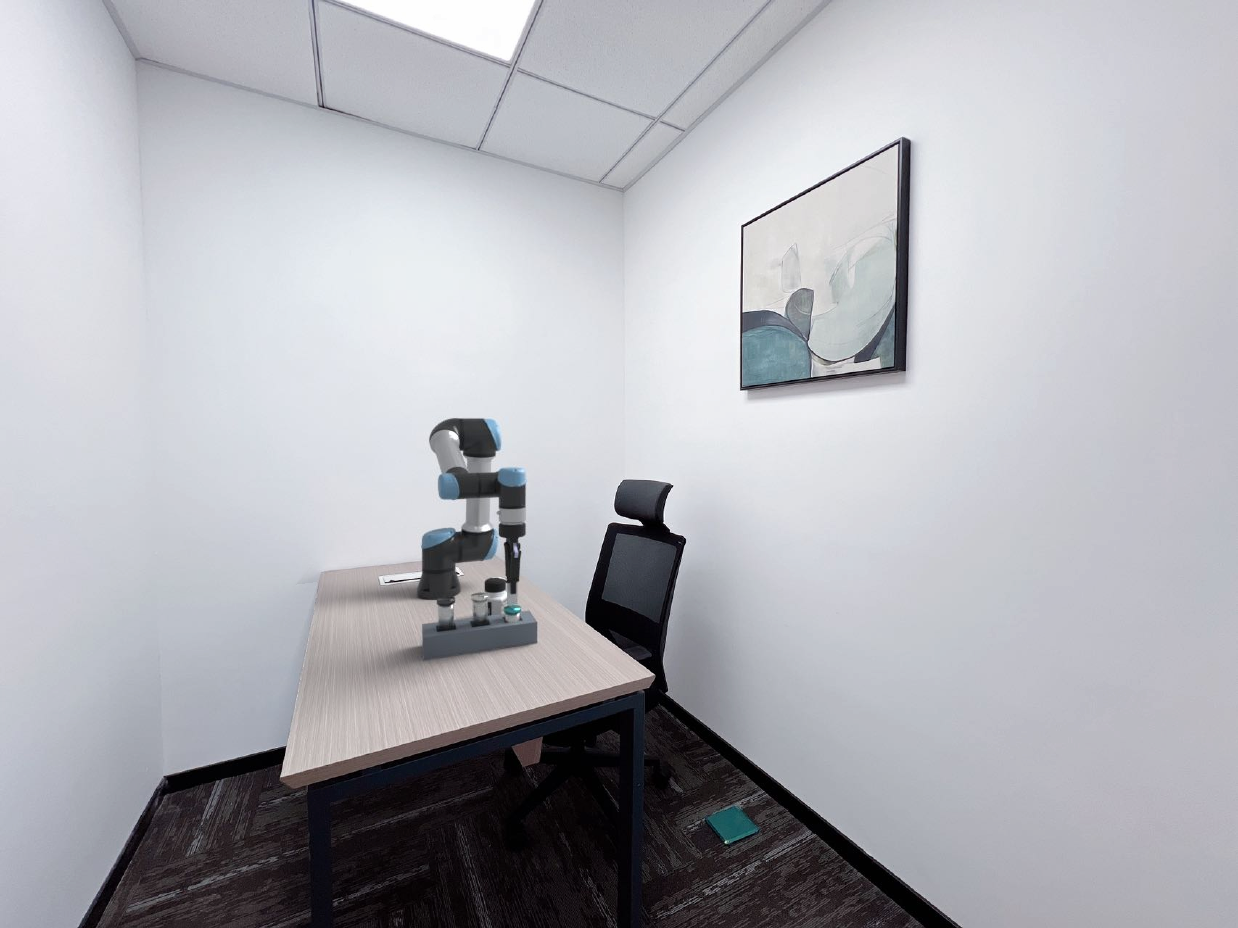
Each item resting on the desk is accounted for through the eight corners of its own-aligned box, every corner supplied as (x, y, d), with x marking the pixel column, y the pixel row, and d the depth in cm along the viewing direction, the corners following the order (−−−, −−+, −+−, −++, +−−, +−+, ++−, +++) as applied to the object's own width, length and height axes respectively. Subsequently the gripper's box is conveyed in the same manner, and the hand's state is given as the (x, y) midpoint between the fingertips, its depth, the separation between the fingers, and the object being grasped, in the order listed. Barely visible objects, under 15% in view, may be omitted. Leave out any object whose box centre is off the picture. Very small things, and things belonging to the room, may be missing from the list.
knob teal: (502, 634, 146) (502, 606, 146) (519, 632, 148) (519, 604, 148) (505, 640, 142) (505, 611, 141) (522, 638, 144) (522, 609, 143)
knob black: (436, 627, 139) (436, 597, 139) (454, 624, 141) (454, 595, 140) (437, 633, 135) (437, 602, 134) (456, 631, 136) (455, 600, 136)
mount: (422, 645, 140) (422, 624, 140) (529, 629, 152) (529, 610, 152) (423, 660, 131) (423, 637, 131) (537, 642, 143) (537, 621, 142)
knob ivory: (470, 622, 142) (470, 593, 142) (487, 620, 144) (487, 591, 144) (472, 628, 138) (472, 598, 138) (490, 626, 140) (490, 596, 139)
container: (501, 624, 156) (501, 582, 155) (478, 622, 158) (478, 581, 157) (511, 615, 164) (511, 576, 163) (489, 613, 165) (489, 574, 165)
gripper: (495, 519, 148) (495, 598, 149) (502, 527, 136) (502, 613, 137) (520, 517, 150) (520, 595, 152) (530, 525, 138) (530, 609, 140)
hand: (512, 603), depth 145 cm, fingers closed
